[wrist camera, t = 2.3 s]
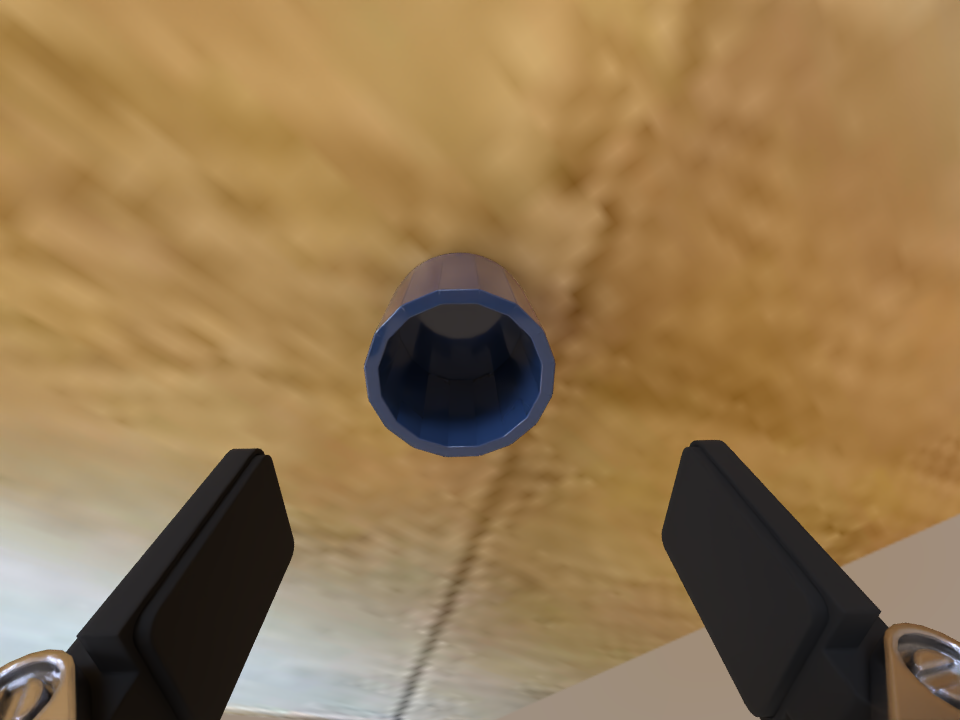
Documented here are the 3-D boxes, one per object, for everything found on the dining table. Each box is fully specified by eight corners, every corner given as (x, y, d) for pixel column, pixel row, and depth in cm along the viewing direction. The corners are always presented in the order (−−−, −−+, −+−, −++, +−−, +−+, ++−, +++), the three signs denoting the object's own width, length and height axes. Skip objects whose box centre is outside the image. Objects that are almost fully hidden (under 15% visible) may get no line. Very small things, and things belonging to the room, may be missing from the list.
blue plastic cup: (396, 383, 21) (375, 460, 16) (383, 252, 18) (353, 290, 13) (525, 381, 21) (547, 454, 16) (532, 251, 19) (562, 288, 13)
